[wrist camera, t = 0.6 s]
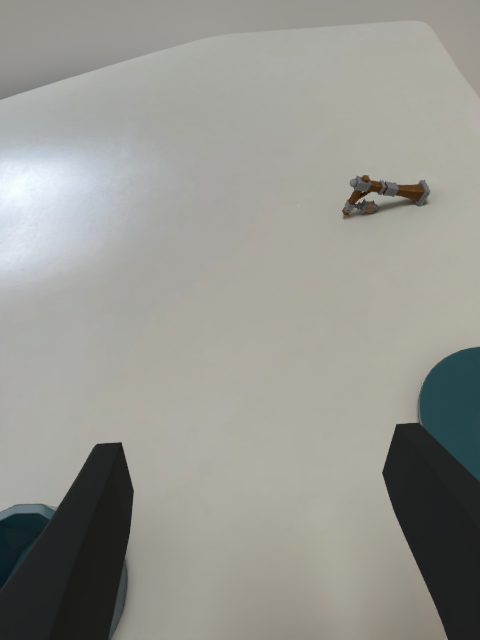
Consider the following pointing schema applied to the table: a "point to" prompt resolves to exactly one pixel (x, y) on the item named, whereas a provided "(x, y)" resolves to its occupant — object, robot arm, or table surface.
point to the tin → (21, 533)
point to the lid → (454, 406)
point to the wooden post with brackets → (387, 188)
